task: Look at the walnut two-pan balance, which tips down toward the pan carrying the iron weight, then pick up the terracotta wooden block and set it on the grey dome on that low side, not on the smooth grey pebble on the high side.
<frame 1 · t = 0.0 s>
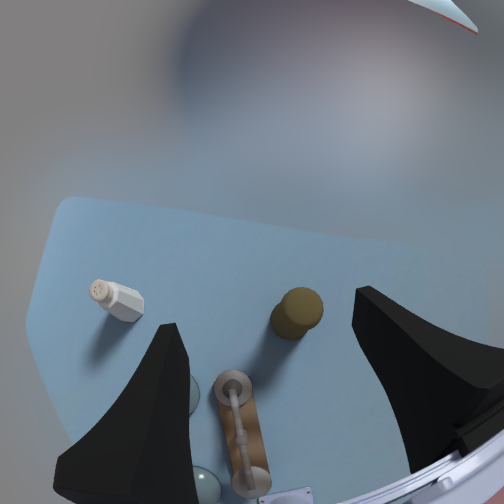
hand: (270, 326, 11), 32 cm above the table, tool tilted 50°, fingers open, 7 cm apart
balance: (242, 429, 38), on the table
salt shaker: (130, 306, 44), on the table
grey dome: (172, 393, 39), on the table
smooth grey pebble: (195, 487, 34), on the table
cork: (290, 319, 44), on the table
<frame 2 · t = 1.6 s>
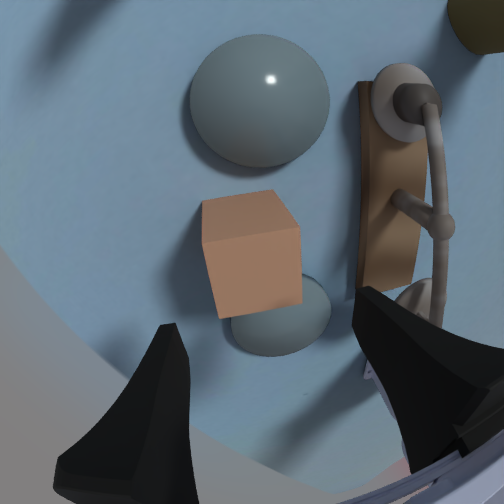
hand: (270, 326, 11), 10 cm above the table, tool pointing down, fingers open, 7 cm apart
balance: (390, 192, 20), on the table
grey dome: (259, 100, 16), on the table
block: (242, 226, 20), on the table
smooth grey pebble: (280, 314, 24), on the table
cork: (469, 23, 14), on the table
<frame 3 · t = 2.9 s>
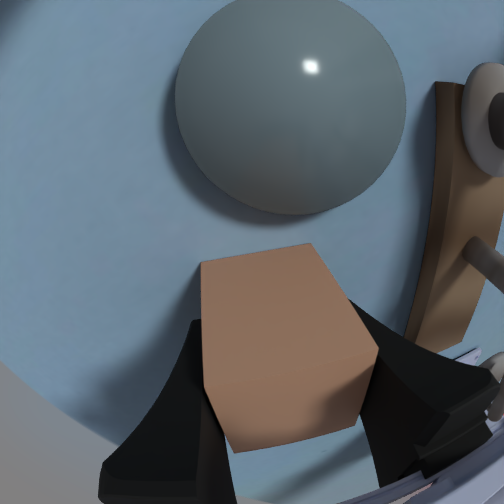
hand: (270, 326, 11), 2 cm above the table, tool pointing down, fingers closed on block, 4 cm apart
balance: (457, 238, 13), on the table
grey dome: (295, 98, 9), on the table
block: (262, 296, 13), on the table, touching gripper
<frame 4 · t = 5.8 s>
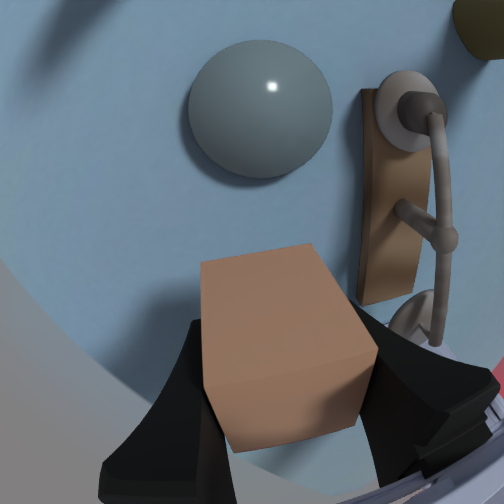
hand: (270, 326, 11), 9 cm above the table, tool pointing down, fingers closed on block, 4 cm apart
balance: (392, 201, 20), on the table
grey dome: (260, 108, 16), on the table
block: (261, 297, 13), point 7 cm above the table, touching gripper
cork: (474, 28, 13), on the table
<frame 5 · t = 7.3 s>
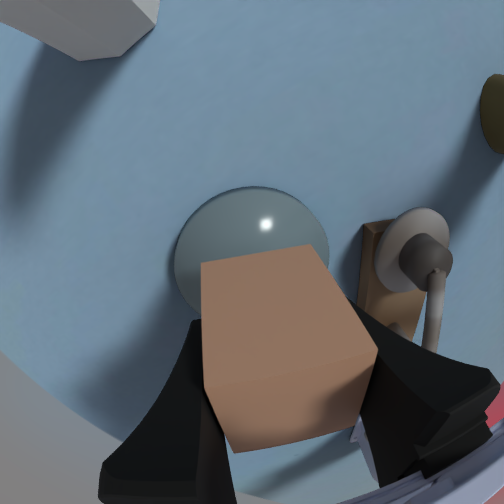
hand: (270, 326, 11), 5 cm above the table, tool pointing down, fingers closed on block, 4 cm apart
balance: (383, 319, 20), on the table
salt shaker: (108, 12, 9), on the table
grey dome: (251, 259, 16), on the table
block: (261, 297, 13), point 3 cm above the table, touching gripper
cork: (500, 113, 14), on the table
when the fingers open (4 cm above the table, at t = 8.7 s): block drops 1 cm, resting on grey dome.
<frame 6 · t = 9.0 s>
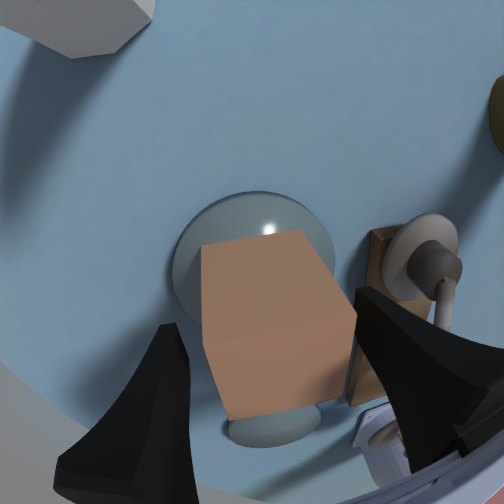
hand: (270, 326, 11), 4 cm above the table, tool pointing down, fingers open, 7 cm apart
balance: (388, 326, 19), on the table
salt shaker: (102, 7, 8), on the table
grey dome: (253, 267, 15), on the table
block: (256, 278, 14), point 1 cm above the table, touching grey dome
smooth grey pebble: (273, 420, 23), on the table
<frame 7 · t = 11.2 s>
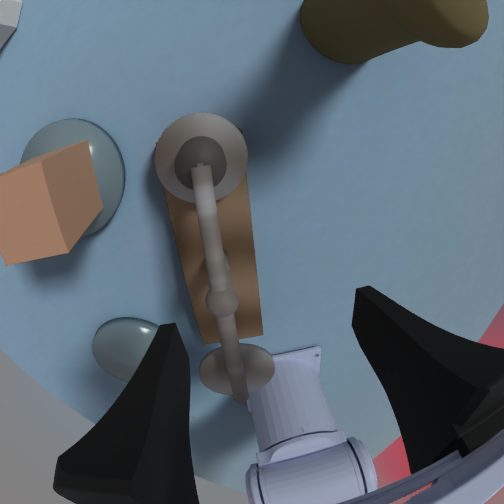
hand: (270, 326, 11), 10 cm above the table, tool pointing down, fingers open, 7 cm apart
balance: (216, 247, 21), on the table
grey dome: (71, 177, 17), on the table
block: (65, 182, 16), point 1 cm above the table, touching grey dome
smooth grey pebble: (136, 350, 25), on the table
cork: (342, 24, 15), on the table
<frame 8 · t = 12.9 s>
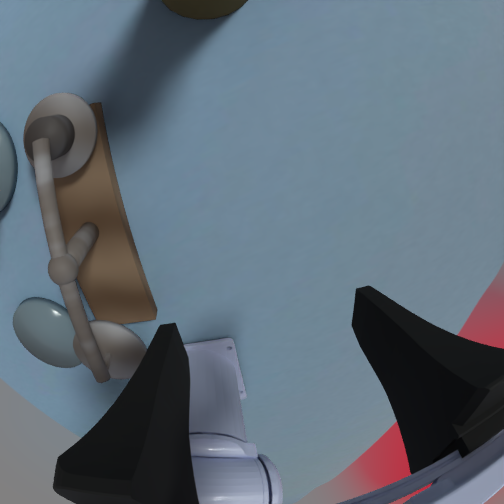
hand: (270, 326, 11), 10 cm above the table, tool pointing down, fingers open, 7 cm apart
balance: (95, 224, 19), on the table
smooth grey pebble: (51, 331, 23), on the table
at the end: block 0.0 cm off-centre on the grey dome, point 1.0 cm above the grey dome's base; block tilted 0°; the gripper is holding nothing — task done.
